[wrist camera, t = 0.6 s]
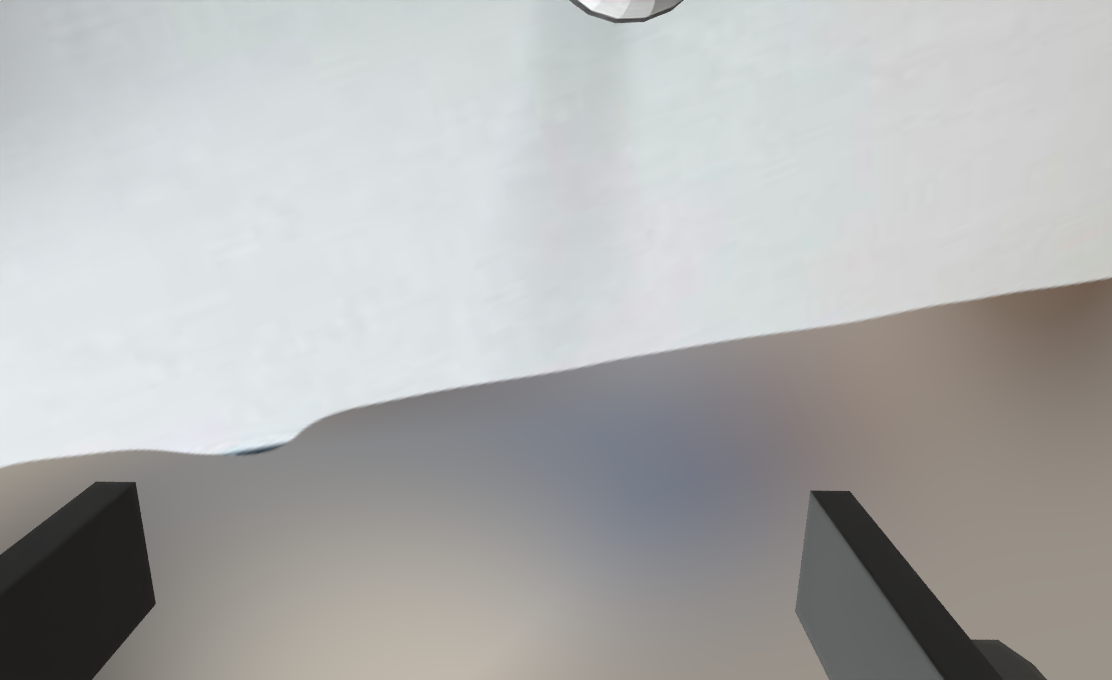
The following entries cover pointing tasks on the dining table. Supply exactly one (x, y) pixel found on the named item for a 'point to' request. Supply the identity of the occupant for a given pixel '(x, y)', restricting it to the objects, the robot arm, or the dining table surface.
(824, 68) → the dining table surface
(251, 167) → the dining table surface
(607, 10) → the beverage cup
